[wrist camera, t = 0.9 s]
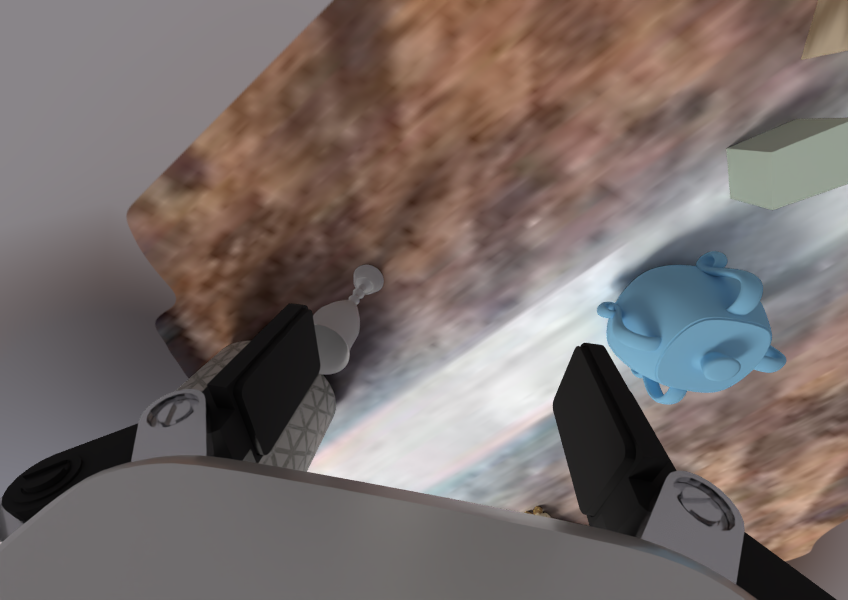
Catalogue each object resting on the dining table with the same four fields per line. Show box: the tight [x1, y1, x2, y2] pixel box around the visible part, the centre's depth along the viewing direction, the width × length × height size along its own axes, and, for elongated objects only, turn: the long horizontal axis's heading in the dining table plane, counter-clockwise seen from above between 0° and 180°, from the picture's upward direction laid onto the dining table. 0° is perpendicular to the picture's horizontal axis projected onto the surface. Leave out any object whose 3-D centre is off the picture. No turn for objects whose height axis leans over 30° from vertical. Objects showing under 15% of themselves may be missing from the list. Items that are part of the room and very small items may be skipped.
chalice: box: [313, 265, 384, 374], centre depth 41 cm, size 7×7×18 cm
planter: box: [176, 340, 336, 472], centre depth 53 cm, size 25×25×24 cm
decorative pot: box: [597, 251, 786, 404], centre depth 38 cm, size 16×16×14 cm
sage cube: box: [726, 118, 848, 210], centre depth 31 cm, size 6×6×6 cm
